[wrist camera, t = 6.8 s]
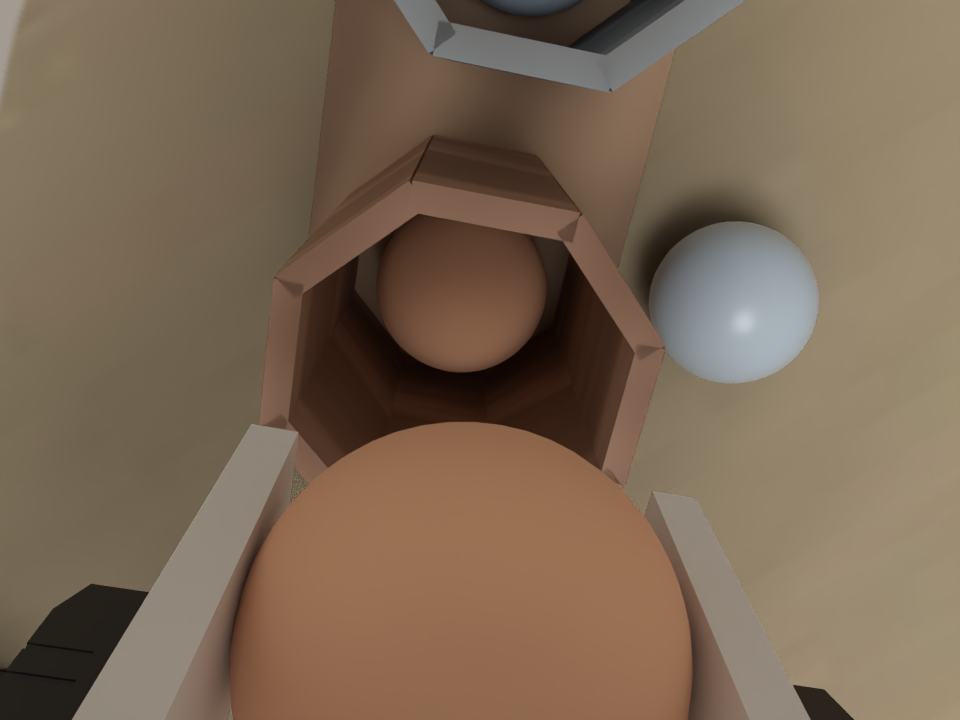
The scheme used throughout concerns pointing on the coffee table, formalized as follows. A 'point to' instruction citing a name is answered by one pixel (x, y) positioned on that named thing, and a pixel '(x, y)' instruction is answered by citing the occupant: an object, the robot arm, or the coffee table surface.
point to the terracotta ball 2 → (461, 591)
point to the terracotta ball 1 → (460, 292)
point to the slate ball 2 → (734, 302)
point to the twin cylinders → (478, 218)
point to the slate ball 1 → (532, 6)
